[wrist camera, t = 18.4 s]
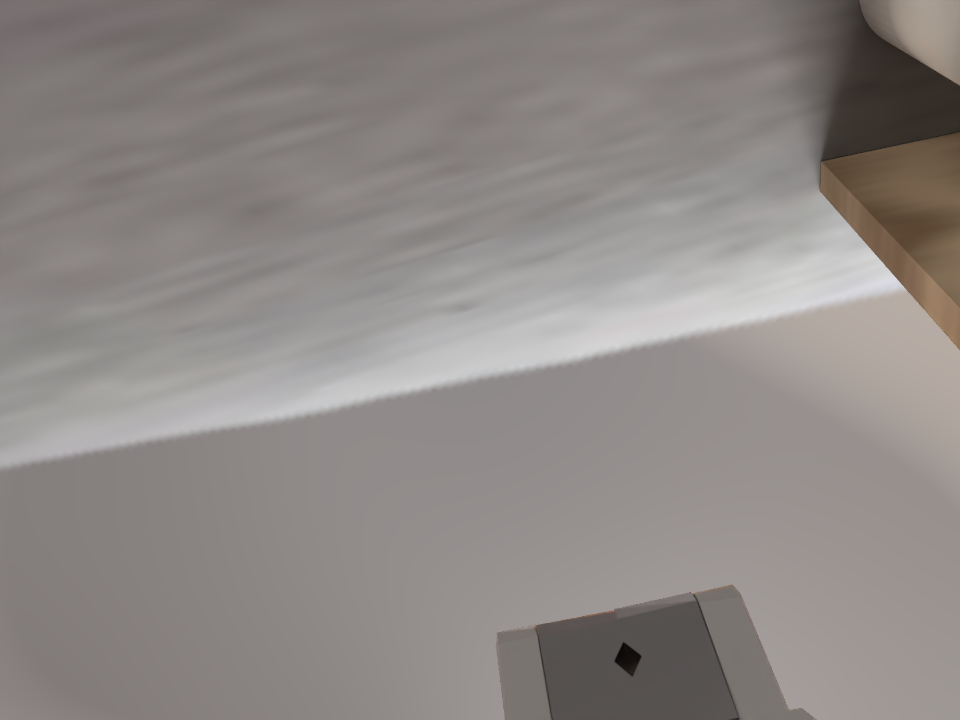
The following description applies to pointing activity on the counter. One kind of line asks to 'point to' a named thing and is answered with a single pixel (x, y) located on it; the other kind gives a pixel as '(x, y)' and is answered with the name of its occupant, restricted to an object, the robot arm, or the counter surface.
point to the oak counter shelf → (907, 217)
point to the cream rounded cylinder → (920, 30)
